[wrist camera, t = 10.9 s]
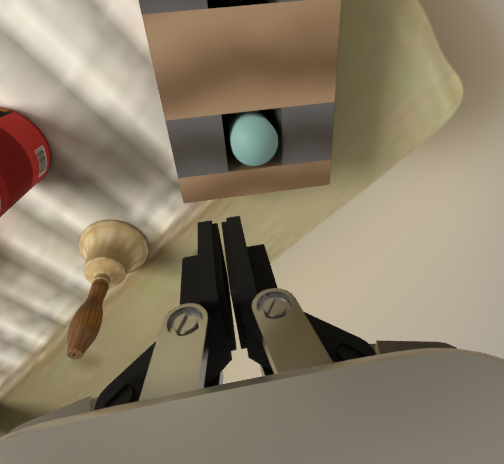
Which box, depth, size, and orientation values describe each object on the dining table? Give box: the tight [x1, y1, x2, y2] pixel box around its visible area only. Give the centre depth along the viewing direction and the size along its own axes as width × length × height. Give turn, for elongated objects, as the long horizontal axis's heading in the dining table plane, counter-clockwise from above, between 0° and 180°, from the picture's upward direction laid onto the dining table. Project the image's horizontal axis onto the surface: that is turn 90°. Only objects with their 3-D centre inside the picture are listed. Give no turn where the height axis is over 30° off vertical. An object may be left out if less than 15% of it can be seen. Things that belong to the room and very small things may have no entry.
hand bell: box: [67, 220, 149, 359], centre depth 33 cm, size 8×8×16 cm
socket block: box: [139, 0, 341, 203], centre depth 27 cm, size 22×14×8 cm, turn 4°
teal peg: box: [226, 110, 278, 166], centre depth 29 cm, size 4×4×7 cm
